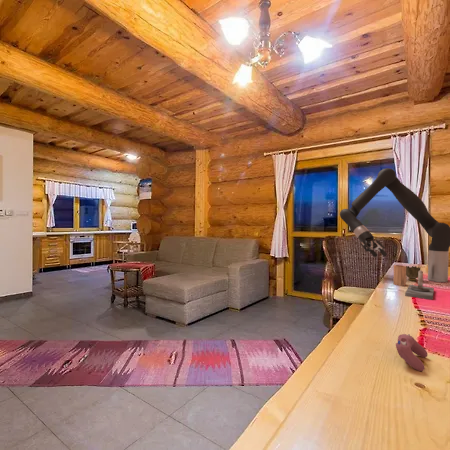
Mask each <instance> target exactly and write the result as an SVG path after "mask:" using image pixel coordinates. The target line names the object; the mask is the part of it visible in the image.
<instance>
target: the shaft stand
mask: <svg viewBox="0 0 450 450" xmlns="http://www.w3.org/2000/svg"><path fill="white" fill-rule="evenodd" d="M423 279H424V271H423V270H422V269H420V271H418V278H417V285H414V284H409V285H408V287H407V288H406V291H405V293H404V294H405V295H404V296H405V297H411V298H417V297H418V298H417V299H423V298H424V299H425V300H431V301H433V299H434V292H435V288H434V287H432V286H431V287H430V286H423V285H424V280H423Z"/></svg>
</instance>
